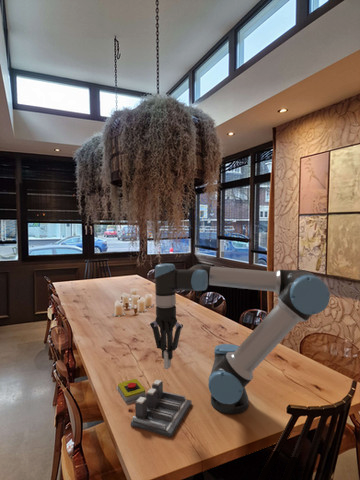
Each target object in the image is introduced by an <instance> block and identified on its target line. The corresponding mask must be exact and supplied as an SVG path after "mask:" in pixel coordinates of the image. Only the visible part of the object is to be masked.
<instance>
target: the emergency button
mask: <svg viewBox="0 0 360 480" xmlns="http://www.w3.org/2000/svg"><path fill="white" fill-rule="evenodd" d="M116 390H117V392H118V393H119V395H120V396H121V399H122V400H123V401H124V403H125V405H130V404H135V403H136V401H137V400H138V399H139V398H140V397H144V398H146V393H147V392H146V388H145V387H144V386H143V385H142V383H141V382H140V380H138V379H137V378H133V379H130V380H126V381H122V382H119V383H118V384H117V386H116Z"/></svg>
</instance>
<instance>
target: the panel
mask: <svg viewBox="0 0 360 480" xmlns="http://www.w3.org/2000/svg"><path fill="white" fill-rule="evenodd" d="M157 399H158V406H157V407H156V408H155V409H154V408H150V407H147V410H148V415H147V416H146V418H145V419H143V418H139V417H136V416H135V415H133V416H132V420H131V421H130V426H131V427H133V428H137V429H140V430H144V431H148V432H151V433H154V434H158V435H160V436H164V437H168V438H172V437H173V436H174V434H175V432H176V430H177V428H178V427H179V426H180V424H181V422H182V420H183V419H184V417H185V416H186V414H187V413H188V411H189V410H190V407H191V405H192V402H193V401H192V399H187V398H186V395H181V394H177V393H173V392H168V391H165V390H163V397H162V398H161V399H159V398H157Z"/></svg>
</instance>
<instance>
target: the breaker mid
mask: <svg viewBox="0 0 360 480" xmlns="http://www.w3.org/2000/svg"><path fill="white" fill-rule="evenodd" d="M145 393H146V399H147V407H150V408H154V409H155V408H156V407H157V406H158V399H157V390H156V389H153V388H152V387H151V388H149V389H148V390H147V391H146V392H145Z"/></svg>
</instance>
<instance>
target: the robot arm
mask: <svg viewBox="0 0 360 480" xmlns="http://www.w3.org/2000/svg"><path fill="white" fill-rule="evenodd" d="M154 285H155V286H154V287H155V288H154V289H155V315H156V317H155V320H154V321H151V322H150V323H149V326H150V327H151V329H152V332H153V337H154V341H155V345H156V348H157V349H158V350H161V359H162V360H163V369H165V370H169V369H170V368H171V367H172V362H171V361H172V359H173V357H174V355H173V353H174V352H175V350H177V348H178V347H179V346H178V345H179V340H180V336H181V332H182V329H183V327H184V324H183V323H179V321H178V318H177V306H176V304H177V300H176V291H196V292H199V291H200V292H202V291H206V290H207V289H208V286H215V287H216V286H217V287H226V288H237V289H244V290H245V289H248V290H255V291H256V290H257V291H266V292H267V291H268V292H274V293H276V295H277V303H276V305H275V306H274V307H273V308H272V309H271V310H270V312H269V313H268V314H267V315H266V316H265V317H264V318H263V319H262V321H260V322H259V324H257V326H255V328H254V329H253V330H252V332H251V333H249V335H247V337H246V338H245V339H244V340H243V342H242V343H241V344H240V345H237V344H231V343H222V344H217V345H216V346H215V347H214V352H213V353H214V360H213V365H212V368H211V371H210V374H209V377H208V390H209V393H210V404H211V406H212V407H213V408H214V410H216V411H218V412H220V413H223V414H227V415H237V414H241V413H243V412H245V411H247V410H248V408H249V405H250V404H249V401H250V400H249V395H248V393H247V389H246V386H247V385H249V384H250V382H251V381H252V380H253V379H254V375H253V372H254V371H255V369H256V368H258V366H260V364H261V363H262V362H263V361H264V360H265V359H266V358H267V357H268V355H270V354H271V352H272V351H273V350H274V349H275V348H276V347H277V346H278V345H279V344H280V343H281V342H282V341H283V339H285V337H286V336H287V335H288V334H289V333H291V330H292V331H293V329H294V328H295V326H297V324H298V323H299V322H307V321H308V320H309V319H311V317H312V316H314V315H318V314H319V313H322V312H323V311H325V309H326V308H327V306H329V303H330V300H331V299H330V298H331V296H330V295H331V294H330V290H329V288H328V285H327V284H326V283H325V281H324V280H322V278H320V277H319V276H317V275H315V274H314V273H313V272H311V271H309V270H305V269H278V270H277V271H271V270H261V269H260V270H259V269H258V270H257V269H248V268H247V269H245V268H233V267H225V266H224V267H223V266H210V265H209V266H208V265H205V264H202V263H201V264H200V263H198V264H197V263H196V264H195V265H193V266H191V267H190V268H188V269H176V266H175V264H174V263H159V264H156V265H155V267H154ZM174 327H175V332H174ZM173 332H174V333H173ZM173 334H174V336H173Z"/></svg>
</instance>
